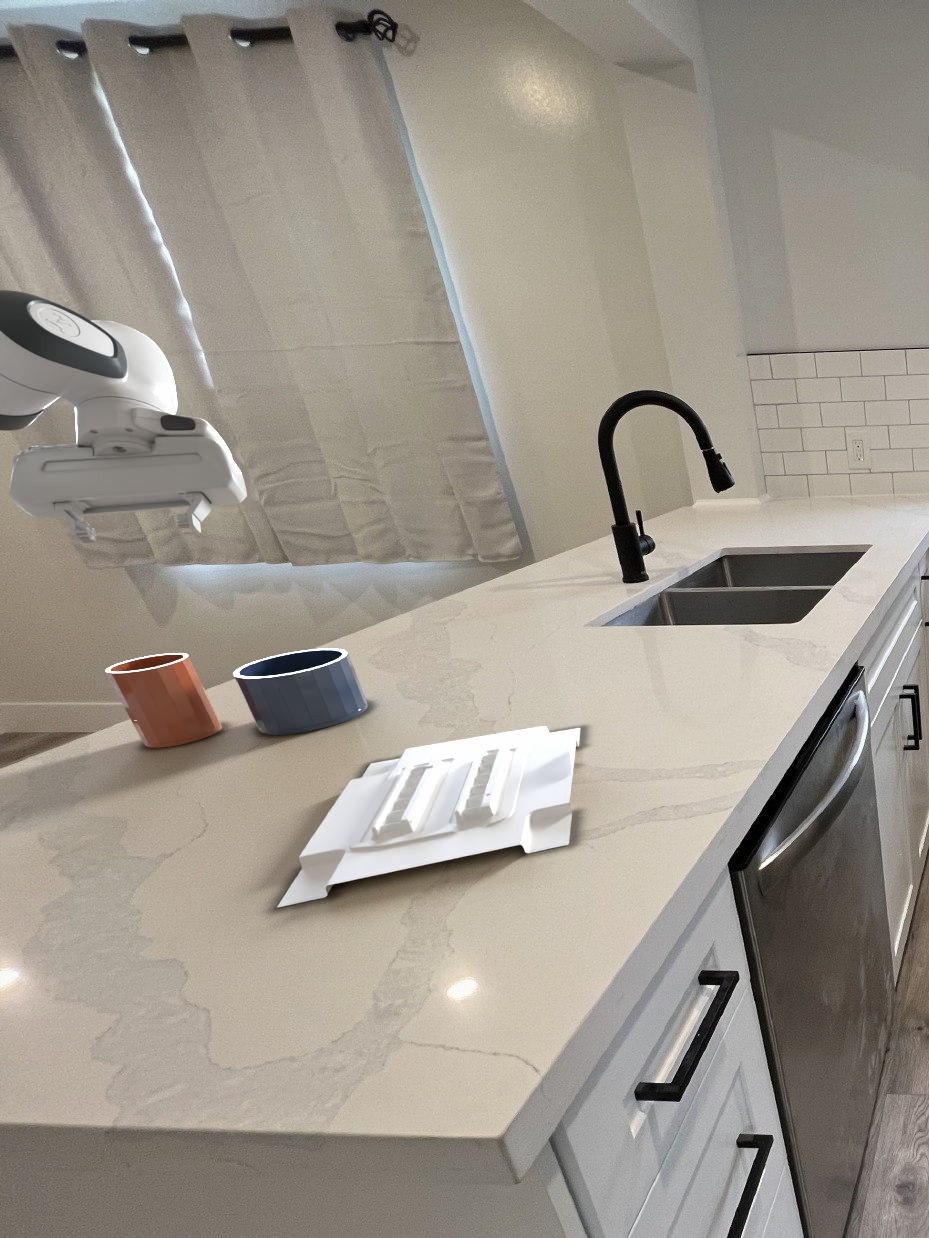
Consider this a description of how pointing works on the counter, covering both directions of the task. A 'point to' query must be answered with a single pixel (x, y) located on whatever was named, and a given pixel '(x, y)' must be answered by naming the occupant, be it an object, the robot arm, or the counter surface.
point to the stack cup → (301, 691)
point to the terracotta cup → (164, 699)
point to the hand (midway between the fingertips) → (137, 535)
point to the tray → (444, 808)
